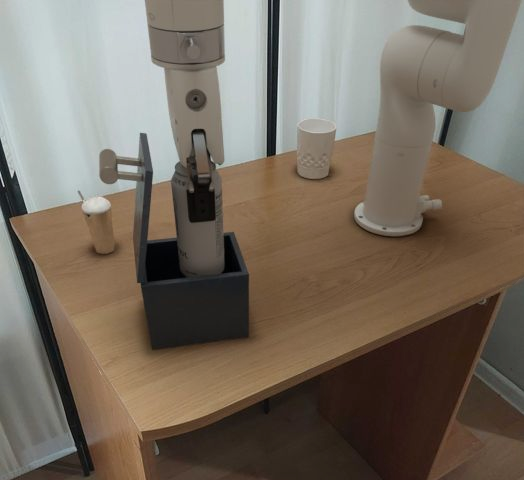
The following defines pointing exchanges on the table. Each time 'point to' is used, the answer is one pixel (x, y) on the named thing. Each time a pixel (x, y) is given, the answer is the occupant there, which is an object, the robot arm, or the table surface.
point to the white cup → (315, 147)
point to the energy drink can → (198, 229)
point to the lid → (143, 193)
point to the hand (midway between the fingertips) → (198, 205)
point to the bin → (194, 297)
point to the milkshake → (99, 223)
